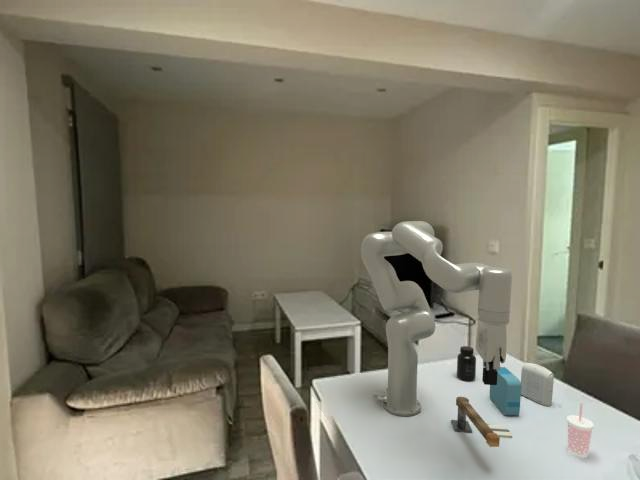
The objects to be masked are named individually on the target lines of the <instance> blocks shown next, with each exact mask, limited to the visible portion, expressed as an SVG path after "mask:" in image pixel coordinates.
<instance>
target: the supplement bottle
mask: <svg viewBox="0 0 640 480" xmlns="http://www.w3.org/2000/svg"><path fill="white" fill-rule="evenodd" d="M474 351H475V350H474V348H473V347H471V346H466V345H465V346H460V350H459V352H460V353H458V354H457V357H456V358H457V359H456V360H457V361H456V362H457V363H456V365H457V366H456V377H457V378H458V379H459V380H461V381H463V382H474V381H475V380H476V373H477V371H476V370H477V358H476V356H475V355H474Z"/></svg>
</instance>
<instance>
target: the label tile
mask: <svg viewBox="0 0 640 480" xmlns="http://www.w3.org/2000/svg"><path fill="white" fill-rule="evenodd" d="M487 425H488V426H489V427H490V429H491V430H492V431H493V432H494V433H496V434H497V435H498V436H499V437H500V438H508V439H509V438H510V439H512V438H513V435H512V434H511V432H510V430H509V429H508V426H506V425H498V424H497V425H494V424H487Z"/></svg>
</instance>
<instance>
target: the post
mask: <svg viewBox="0 0 640 480" xmlns="http://www.w3.org/2000/svg"><path fill="white" fill-rule="evenodd" d="M469 422H470V421H468V420H467V415H466V414H465V413H464V411H463V410H462V409H461V408H460V407H458V406H457V419H451V420H450V423H451V425H452V428H453V431H454V432H455V433H466V434H468V433H469V434H473V429H472V427H471V425H470V423H469Z"/></svg>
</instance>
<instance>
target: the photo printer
mask: <svg viewBox="0 0 640 480" xmlns="http://www.w3.org/2000/svg"><path fill="white" fill-rule="evenodd" d="M554 379H555V375H554V373H553V372H552V371H551V370H550V369H548V368H546V367H544V366H542V365H539V364H538V363H537V364H536V363H533V362H525V363H523V364H522V367H521V377H520V382H521V396H523V397H525V398H527V399H528V400H532V401H534V402H536V403H538V404H540V405H543V406H544V407H551V405H552V402H553V395H554V394H553V391H554Z"/></svg>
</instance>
